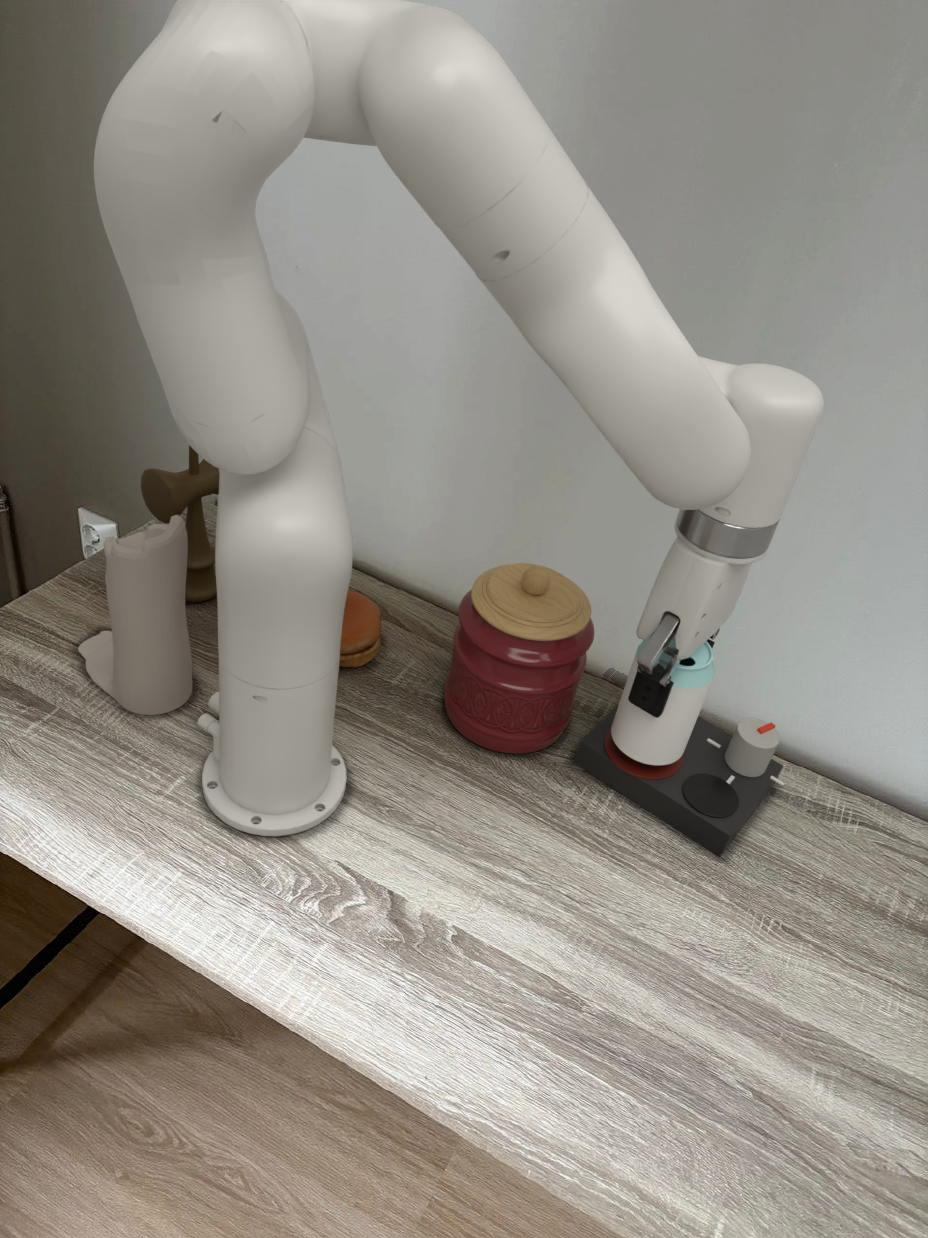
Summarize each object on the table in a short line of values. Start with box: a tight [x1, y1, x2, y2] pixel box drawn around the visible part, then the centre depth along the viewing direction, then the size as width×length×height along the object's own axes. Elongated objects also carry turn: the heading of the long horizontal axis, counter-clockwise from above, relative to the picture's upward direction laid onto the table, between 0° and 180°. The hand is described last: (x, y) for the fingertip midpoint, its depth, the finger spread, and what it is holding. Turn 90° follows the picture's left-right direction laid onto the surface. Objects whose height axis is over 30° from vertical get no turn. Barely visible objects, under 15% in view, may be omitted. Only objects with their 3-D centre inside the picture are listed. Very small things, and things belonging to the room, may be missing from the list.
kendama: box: [140, 444, 220, 603], centre depth 101 cm, size 6×10×20 cm, turn 139°
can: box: [611, 633, 716, 765], centre depth 89 cm, size 7×7×12 cm
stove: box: [573, 705, 786, 858], centre depth 95 cm, size 17×14×3 cm
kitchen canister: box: [443, 562, 596, 754], centre depth 94 cm, size 13×13×18 cm
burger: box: [339, 588, 382, 668], centre depth 102 cm, size 10×9×5 cm
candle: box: [77, 515, 193, 716], centre depth 90 cm, size 7×14×20 cm, turn 51°
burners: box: [604, 728, 739, 818], centre depth 93 cm, size 14×12×1 cm
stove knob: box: [725, 717, 781, 777], centre depth 93 cm, size 4×4×4 cm
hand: (665, 686), depth 88 cm, fingers closed on can, 7 cm apart
